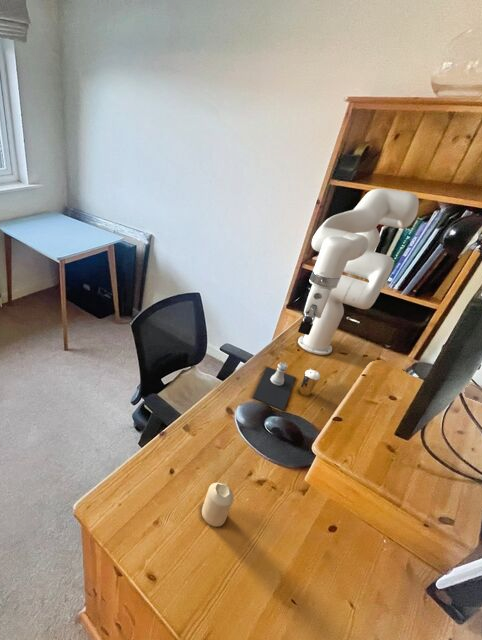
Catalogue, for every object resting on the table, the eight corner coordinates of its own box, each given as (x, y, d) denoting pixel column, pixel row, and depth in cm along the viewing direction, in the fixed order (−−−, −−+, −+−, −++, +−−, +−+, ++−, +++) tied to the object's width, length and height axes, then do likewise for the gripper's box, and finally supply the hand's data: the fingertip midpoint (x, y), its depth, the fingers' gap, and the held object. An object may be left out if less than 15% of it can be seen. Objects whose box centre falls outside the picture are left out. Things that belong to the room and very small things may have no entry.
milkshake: (307, 387, 121) (318, 364, 116) (314, 397, 117) (324, 375, 112) (294, 385, 122) (304, 363, 116) (300, 396, 117) (310, 373, 112)
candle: (212, 531, 78) (221, 506, 73) (196, 509, 82) (204, 484, 77) (230, 520, 81) (240, 495, 75) (214, 499, 85) (222, 474, 79)
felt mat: (266, 367, 130) (266, 366, 130) (294, 378, 125) (295, 377, 125) (252, 397, 116) (252, 397, 116) (283, 411, 111) (284, 410, 111)
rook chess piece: (272, 376, 125) (279, 358, 121) (285, 382, 123) (292, 364, 118) (267, 381, 122) (274, 364, 118) (280, 388, 120) (287, 370, 116)
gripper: (335, 293, 96) (314, 343, 105) (341, 272, 108) (322, 318, 117) (306, 286, 99) (288, 334, 108) (315, 266, 111) (298, 311, 121)
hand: (305, 326), depth 113 cm, fingers open, 9 cm apart
